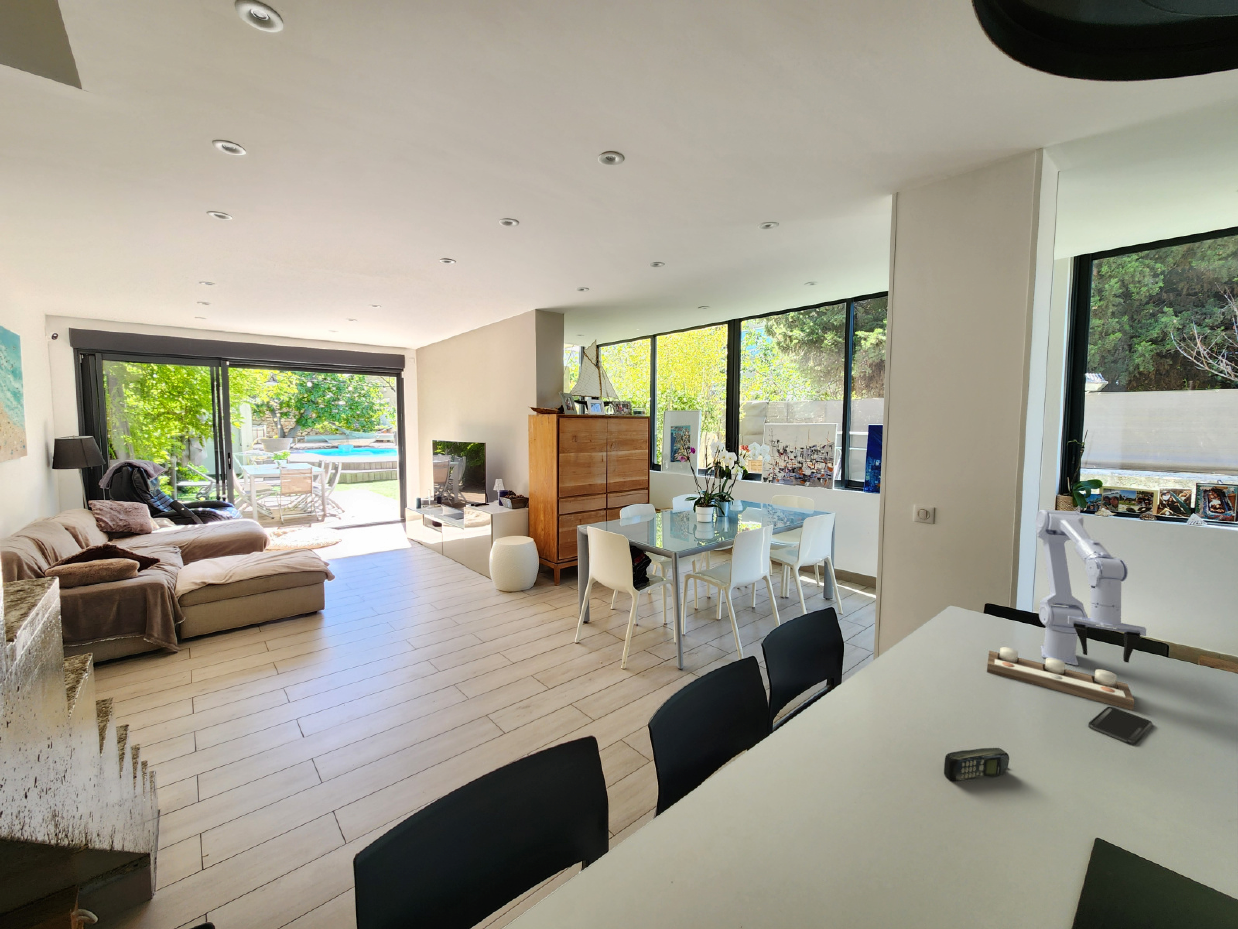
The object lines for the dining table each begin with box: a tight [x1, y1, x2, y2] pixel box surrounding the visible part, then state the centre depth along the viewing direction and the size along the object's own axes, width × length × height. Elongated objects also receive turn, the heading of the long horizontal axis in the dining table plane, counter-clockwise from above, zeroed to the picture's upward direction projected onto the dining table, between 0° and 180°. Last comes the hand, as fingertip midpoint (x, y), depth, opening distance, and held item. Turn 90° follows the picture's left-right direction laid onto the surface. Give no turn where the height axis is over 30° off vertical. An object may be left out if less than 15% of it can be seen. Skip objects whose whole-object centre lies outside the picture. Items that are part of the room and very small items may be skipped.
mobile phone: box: [943, 747, 1010, 782], centre depth 100 cm, size 5×3×15 cm
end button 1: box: [1094, 669, 1117, 687], centre depth 131 cm, size 4×4×2 cm
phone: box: [1087, 706, 1153, 746], centre depth 117 cm, size 8×1×15 cm
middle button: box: [1044, 658, 1066, 674], centre depth 137 cm, size 4×4×2 cm
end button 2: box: [999, 646, 1019, 662], centre depth 143 cm, size 4×4×2 cm
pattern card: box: [994, 659, 1125, 698], centre depth 134 cm, size 4×26×1 cm, turn 52°
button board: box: [986, 650, 1135, 711], centre depth 136 cm, size 10×29×2 cm, turn 52°
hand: (1105, 657), depth 130 cm, fingers open, 7 cm apart
